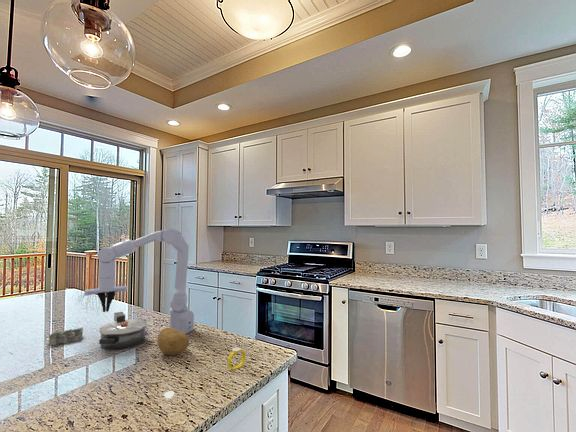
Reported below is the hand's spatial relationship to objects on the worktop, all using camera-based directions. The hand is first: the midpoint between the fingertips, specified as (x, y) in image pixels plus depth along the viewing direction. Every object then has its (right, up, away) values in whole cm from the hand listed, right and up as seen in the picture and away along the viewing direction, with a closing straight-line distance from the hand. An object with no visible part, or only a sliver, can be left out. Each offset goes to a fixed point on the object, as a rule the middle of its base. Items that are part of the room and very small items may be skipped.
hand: (105, 311), depth 119 cm
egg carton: (-13, -11, -3) cm, 17 cm away
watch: (+57, -10, -26) cm, 63 cm away
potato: (+33, -10, -15) cm, 38 cm away
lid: (+8, -5, -3) cm, 10 cm away
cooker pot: (+10, -10, -4) cm, 15 cm away
